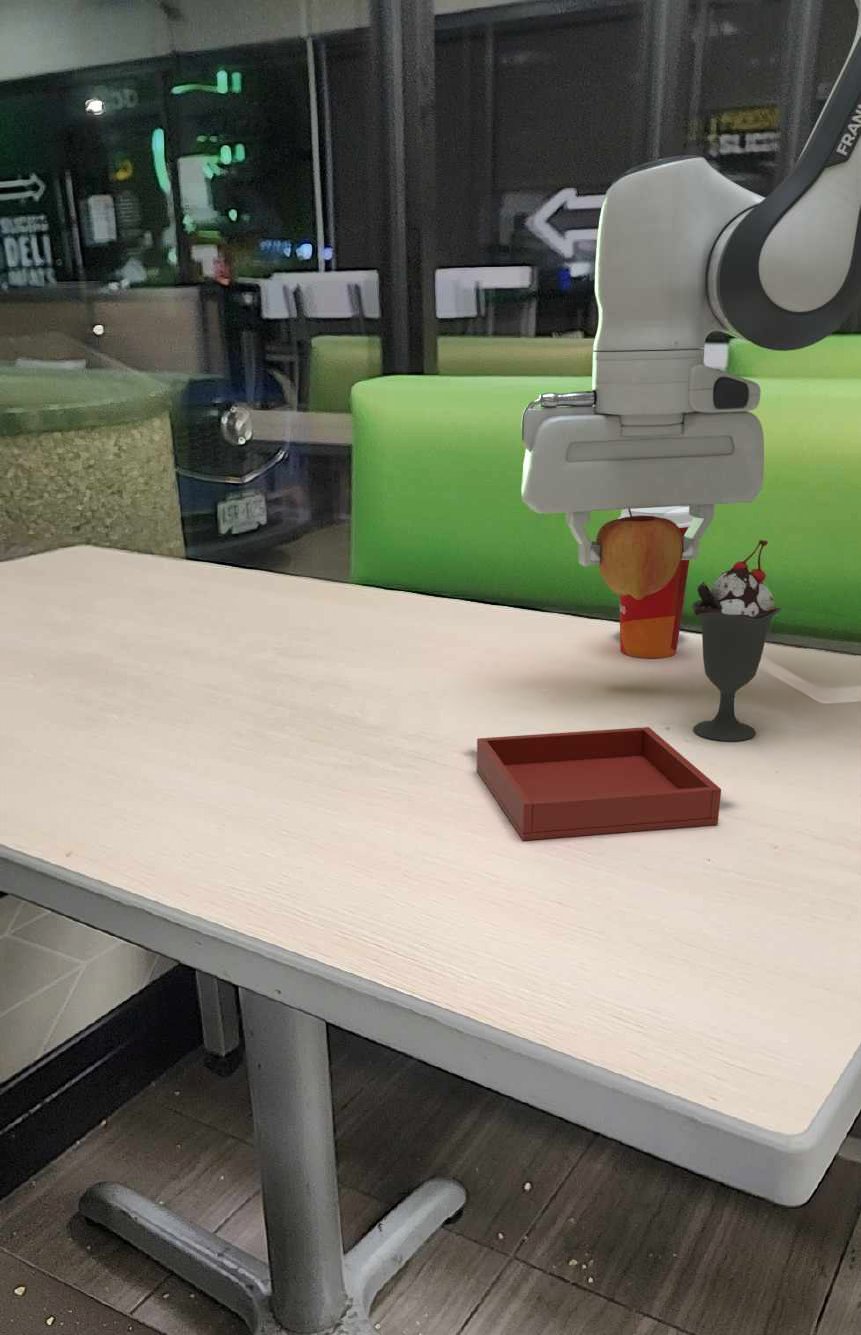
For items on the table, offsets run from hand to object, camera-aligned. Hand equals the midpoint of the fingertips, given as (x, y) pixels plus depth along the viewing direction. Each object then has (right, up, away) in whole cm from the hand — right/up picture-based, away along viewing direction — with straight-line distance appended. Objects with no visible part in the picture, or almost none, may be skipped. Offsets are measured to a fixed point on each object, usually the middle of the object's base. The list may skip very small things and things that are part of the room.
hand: (638, 561), depth 100 cm
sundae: (+6, -15, -6) cm, 18 cm away
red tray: (-7, -21, -19) cm, 29 cm away
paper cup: (+4, -5, +18) cm, 19 cm away
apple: (0, -3, +1) cm, 3 cm away
